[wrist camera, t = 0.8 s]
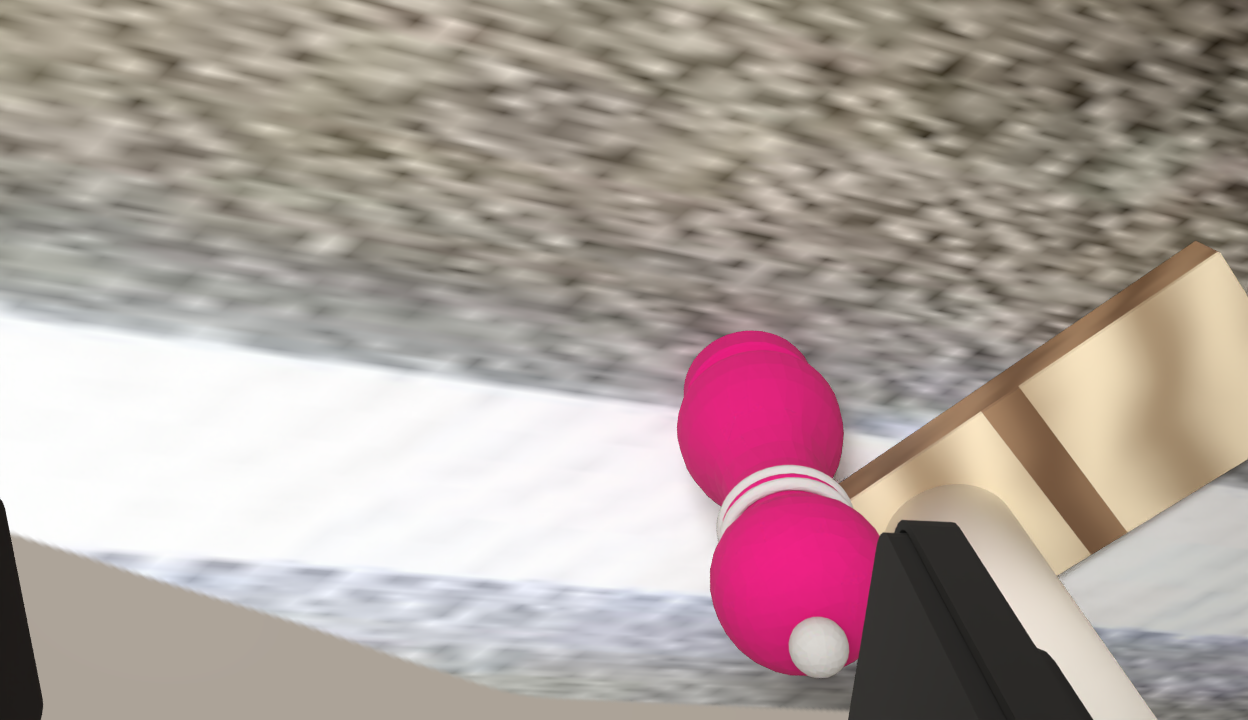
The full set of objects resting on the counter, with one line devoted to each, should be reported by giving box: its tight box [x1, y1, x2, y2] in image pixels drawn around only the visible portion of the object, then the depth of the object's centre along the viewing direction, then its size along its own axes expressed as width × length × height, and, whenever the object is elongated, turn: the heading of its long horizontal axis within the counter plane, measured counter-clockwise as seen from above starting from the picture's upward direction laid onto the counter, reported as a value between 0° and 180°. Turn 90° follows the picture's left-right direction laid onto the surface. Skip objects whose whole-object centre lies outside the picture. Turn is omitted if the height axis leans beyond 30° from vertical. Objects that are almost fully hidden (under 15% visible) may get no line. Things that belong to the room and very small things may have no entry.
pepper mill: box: [677, 331, 879, 678], centre depth 37 cm, size 7×7×20 cm
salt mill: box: [885, 484, 1157, 720], centre depth 38 cm, size 7×7×21 cm
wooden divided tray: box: [839, 241, 1248, 576], centre depth 47 cm, size 22×10×2 cm, turn 130°
